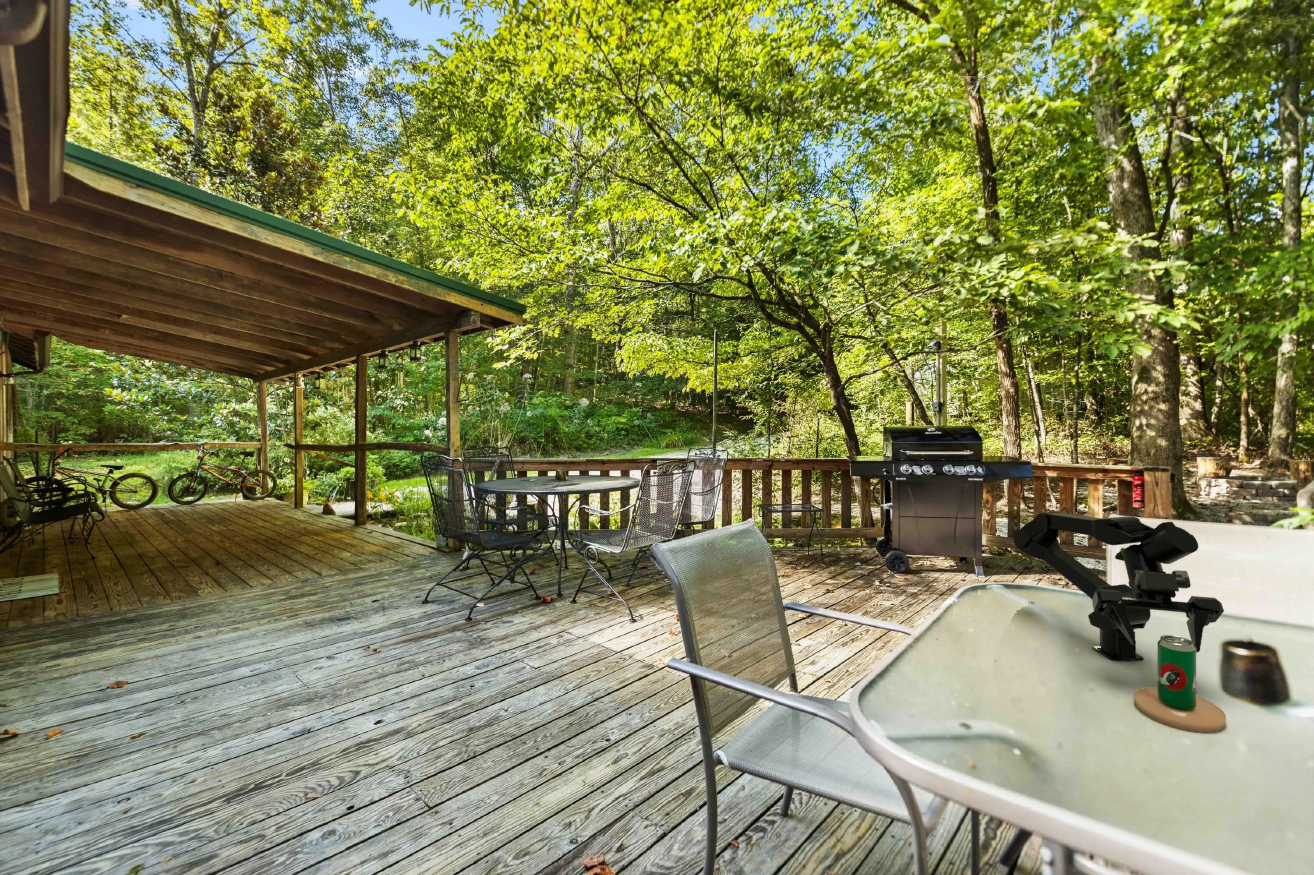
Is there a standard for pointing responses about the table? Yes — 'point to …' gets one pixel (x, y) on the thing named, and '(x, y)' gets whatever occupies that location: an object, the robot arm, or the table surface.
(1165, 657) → the soda can
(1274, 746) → the table surface
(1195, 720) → the terracotta plate
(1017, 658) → the table surface
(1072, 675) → the table surface
